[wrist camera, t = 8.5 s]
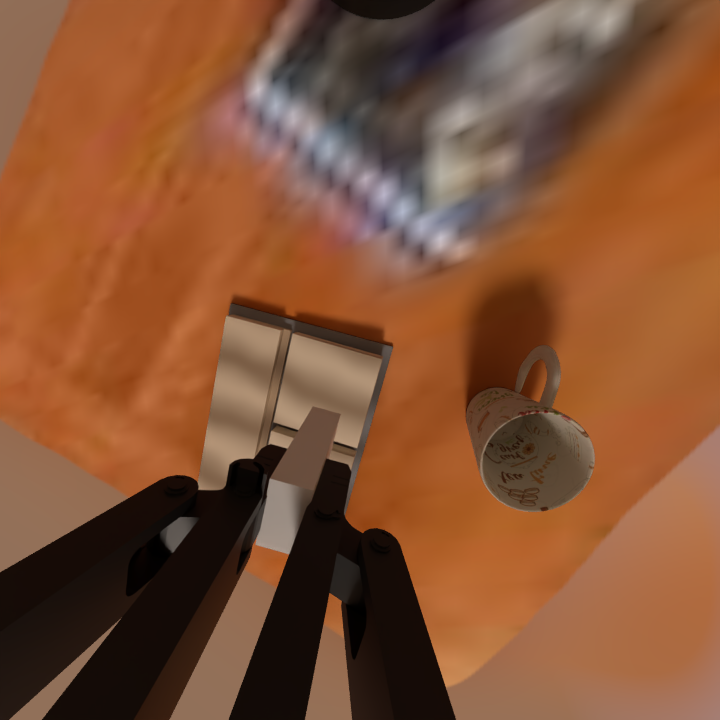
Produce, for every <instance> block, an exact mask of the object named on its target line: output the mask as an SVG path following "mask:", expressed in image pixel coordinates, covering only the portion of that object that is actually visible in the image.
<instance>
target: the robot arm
mask: <svg viewBox="0 0 720 720" xmlns="http://www.w3.org/2000/svg"><path fill="white" fill-rule="evenodd" d="M332 1H333V2H335V3H336V4H337V5H339V6H340V7H342V8H343V9H345V10H347V11H349V12H351V13H354V14H356V15H359V16H362V17H366V18H372V19H393V18H399V17H403V16H406V15H409V14H412V13H414V12H416V11H418V10H420V9H422V8H424V7H426V6H427V5H429V4H430V3H432V2H433V1H435V0H332ZM340 415H341V414H339V413H336V412H332V411H328V410H325V409H321V408H317V407H314V406H313V407H312V409H311V410H310V412H309V414H308V415H307V417H306V419H305V420H304V422H303V424H302V425H301V427H300V429H299V430H298V432H297V434H296V435H295V437H294V439H293V440H292V442H291V444H290V446H289V447H288V449H287V448H284V447H280V446H276V445H273V444H269V445H267V446H265V447H263V448H261V450H260V451H259V452H258V454H257V455H256V456H255V458H254V459H250V458H245V459H238V460H235V461H233V462H232V463H231V464H229V470H228V475H227V481H226V486H225V487H224V488H223V489H220V490H198V489H199V485H198V483H197V481H196V480H194V479H193V478H191V477H188V476H183V475H175V476H169V477H166V478H164V479H161V480H159V481H158V482H156V483H154V484H152V485H151V486H149V487H147V488H145V489H144V490H142V491H140V492H138V493H137V494H135V495H133V496H132V497H130V498H128V499H126V500H125V501H123V502H121V503H120V504H118V505H116V506H114V507H113V508H111V509H109V510H107V511H106V512H104V513H102V514H100V515H99V516H97V517H95V518H93V519H92V520H90V521H88V522H87V523H85V524H83V525H81V526H80V527H78V528H76V529H74V530H73V531H71V532H70V533H68V534H66V535H64V536H62V537H61V538H59V539H57V540H55V541H54V542H52V543H51V544H48V545H47V546H45V547H43V548H42V549H40V550H38V551H36V552H35V553H33V554H31V555H29V556H28V557H26V558H24V559H23V560H21V561H19V562H18V563H16V564H14V565H12V566H10V567H9V568H7V569H5V570H4V571H2V572H0V720H9V719H10V718H11V717H12V716H13V715H15V714H16V713H17V712H18V711H19V710H20V709H21V708H22V707H23V706H25V705H26V704H27V703H28V702H29V701H30V700H31V699H32V698H33V697H34V696H36V695H37V694H38V693H39V692H40V691H41V690H42V689H43V688H44V687H46V686H47V685H48V684H49V683H50V682H51V681H52V680H53V679H54V678H55V677H57V676H58V675H59V674H60V673H61V672H62V671H63V670H64V669H65V668H66V667H67V666H69V665H70V664H71V663H72V662H73V661H74V660H75V659H76V658H77V657H79V656H80V655H81V654H82V653H83V652H84V651H85V650H86V649H87V648H88V647H90V646H91V645H92V644H93V643H94V642H95V641H96V640H97V639H98V638H99V637H101V636H102V635H103V634H104V633H105V632H106V631H107V630H108V629H109V628H111V626H112V625H114V624H115V623H116V622H117V621H118V620H119V619H121V620H120V621H119V622H118V624H117V625H116V626H115V627H114V629H113V630H112V631H111V632H110V634H109V635H108V636H107V637H106V639H105V640H104V641H103V642H102V644H101V645H100V646H99V648H98V649H97V650H96V651H95V653H94V654H93V655H92V657H91V658H90V659H89V660H88V662H87V663H86V664H85V665H84V667H83V668H82V669H81V671H80V672H79V673H78V674H77V676H76V677H75V678H74V680H73V681H72V682H71V683H70V685H69V686H68V687H67V688H66V690H65V691H64V692H63V694H62V695H61V696H60V697H59V699H58V700H57V701H56V703H55V704H54V705H53V706H52V708H51V709H50V710H49V711H48V713H47V714H46V715H45V717H44V718H43V719H42V720H169V719H170V717H171V715H172V713H173V711H174V709H175V707H176V705H177V703H178V701H179V699H180V697H181V695H182V693H183V691H184V689H185V687H186V685H187V683H188V681H189V679H190V677H191V675H192V673H193V671H194V669H195V667H196V665H197V663H198V661H199V658H200V657H201V655H202V653H203V651H204V649H205V647H206V645H207V643H208V640H209V639H210V637H211V635H212V633H213V630H214V628H215V626H216V624H217V622H218V620H219V618H220V616H221V614H222V612H223V610H224V608H225V606H226V604H227V602H228V600H229V598H230V596H231V594H232V592H233V590H234V588H235V586H236V584H237V582H238V580H239V578H240V576H241V574H242V572H243V570H244V568H245V566H246V564H247V562H248V560H249V558H250V555H251V550H252V545H253V543H254V541H255V539H256V537H257V541H256V545H258V546H262V547H265V548H269V549H272V550H276V551H280V552H283V553H287V554H289V556H288V559H287V562H286V565H285V567H284V570H283V573H282V576H281V578H280V581H279V584H278V586H277V589H276V592H275V595H274V597H273V600H272V603H271V606H270V609H269V611H268V614H267V617H266V619H265V622H264V625H263V628H262V630H261V633H260V636H259V638H258V641H257V644H256V646H255V649H254V652H253V655H252V657H251V660H250V663H249V666H248V668H247V671H246V674H245V677H244V680H243V682H242V685H241V688H240V690H239V693H238V696H237V698H236V701H235V704H234V707H233V709H232V712H231V715H230V717H229V720H305V716H306V711H307V705H308V700H309V695H310V689H311V685H312V680H313V674H314V670H315V664H316V659H317V654H318V649H319V643H320V639H321V633H322V628H323V623H324V618H325V613H326V608H327V603H328V597H329V593H331V594H332V595H334V596H335V597H337V598H338V599H340V600H341V601H342V604H341V608H342V618H343V629H344V639H345V650H346V660H347V670H348V680H349V691H350V701H351V711H352V720H456V718H455V715H454V712H453V709H452V706H451V703H450V700H449V696H448V693H447V690H446V687H445V684H444V681H443V678H442V674H441V671H440V668H439V665H438V662H437V659H436V656H435V653H434V649H433V646H432V643H431V640H430V637H429V634H428V631H427V628H426V625H425V621H424V618H423V615H422V612H421V609H420V606H419V603H418V600H417V596H416V593H415V590H414V587H413V584H412V581H411V578H410V575H409V571H408V568H407V565H406V562H405V559H404V556H403V553H402V550H401V546H400V544H399V542H398V541H397V539H396V538H395V537H394V536H393V535H392V534H390V533H388V532H387V531H385V530H382V529H378V528H374V529H368V530H366V531H364V533H361V532H360V531H358V530H356V529H355V528H354V527H352V526H351V525H350V524H349V523H348V521H347V520H346V518H345V515H344V509H345V504H346V499H347V494H348V488H349V483H350V478H351V473H352V472H351V470H350V467H349V465H348V464H345V463H341V462H338V461H334V460H330V459H329V458H330V454H331V450H332V446H333V442H334V439H335V435H336V431H337V427H338V423H339V419H340ZM257 535H258V536H257Z"/></svg>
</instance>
